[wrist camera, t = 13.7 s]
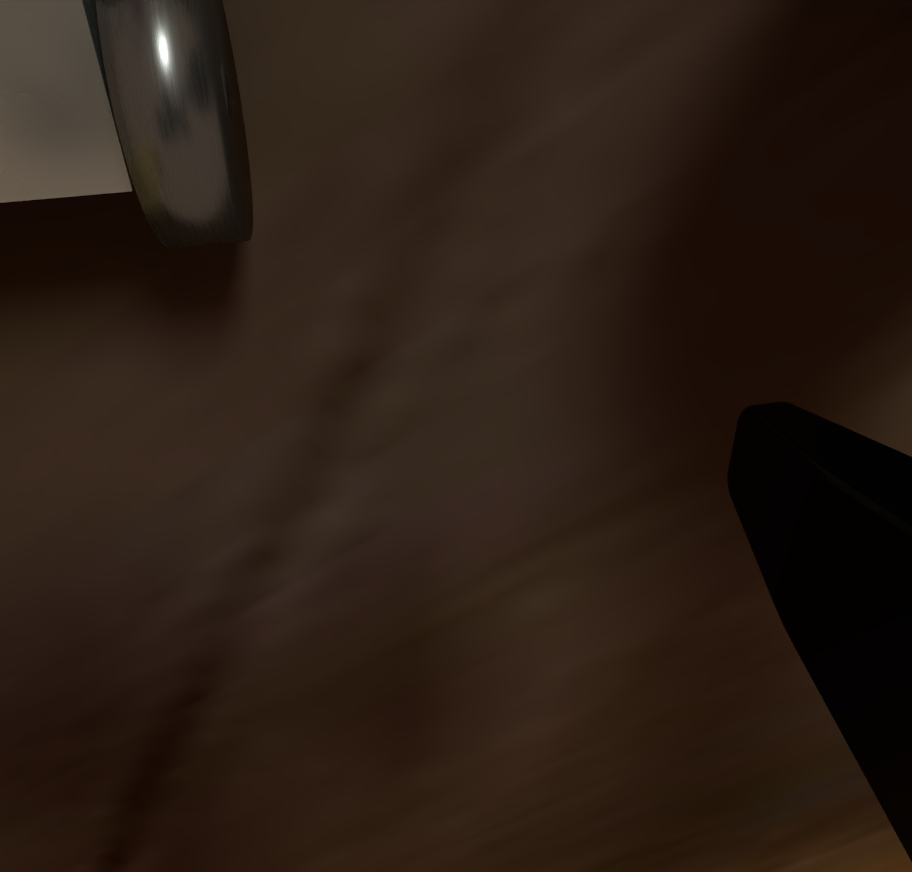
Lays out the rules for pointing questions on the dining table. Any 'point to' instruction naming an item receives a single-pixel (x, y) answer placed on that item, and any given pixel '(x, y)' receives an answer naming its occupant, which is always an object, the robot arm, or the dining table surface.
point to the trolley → (127, 111)
